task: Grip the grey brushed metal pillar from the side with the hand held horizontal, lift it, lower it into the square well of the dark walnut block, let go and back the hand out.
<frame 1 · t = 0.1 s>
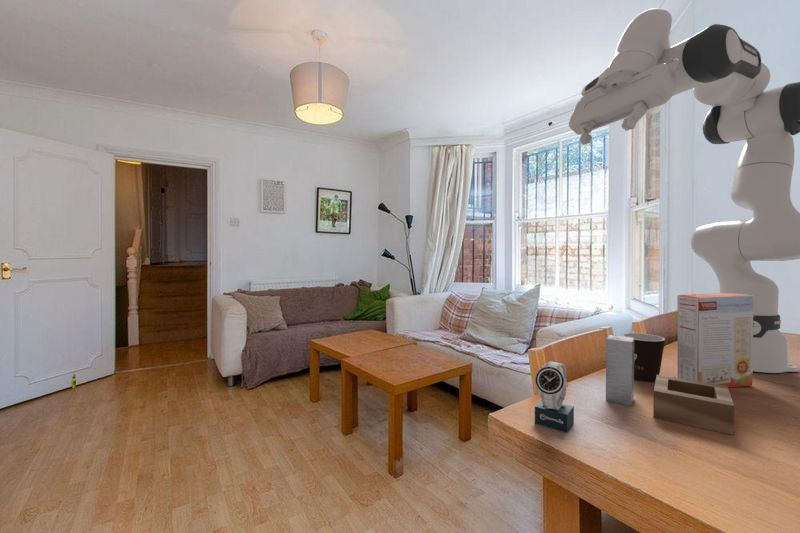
hand: (604, 135, 72), 54 cm above the table, tool tilted 30°, fingers open, 8 cm apart
coffee mug: (639, 376, 89), on the table
cracker box: (713, 384, 83), on the table
watch: (554, 424, 65), on the table
grey brushed metal pillar: (619, 399, 75), on the table
well block: (690, 414, 68), on the table
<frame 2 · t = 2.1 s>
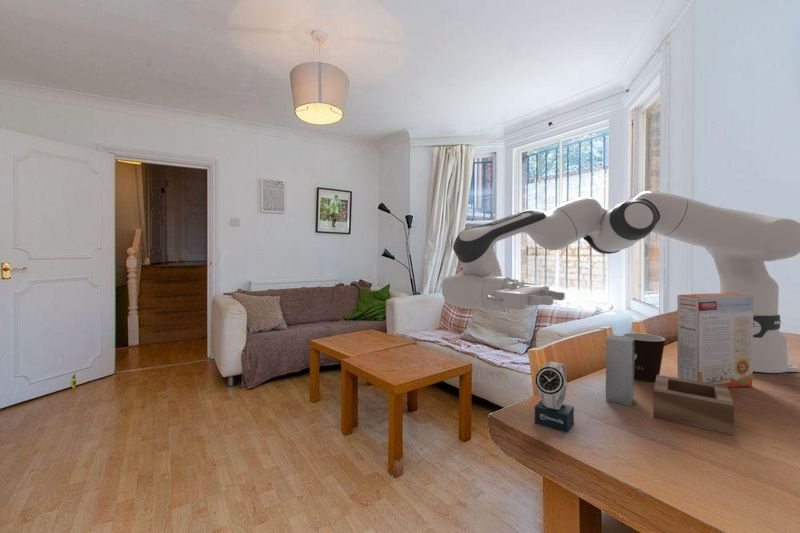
hand: (558, 298, 81), 20 cm above the table, tool horizontal, fingers open, 8 cm apart
nothing on the table moved.
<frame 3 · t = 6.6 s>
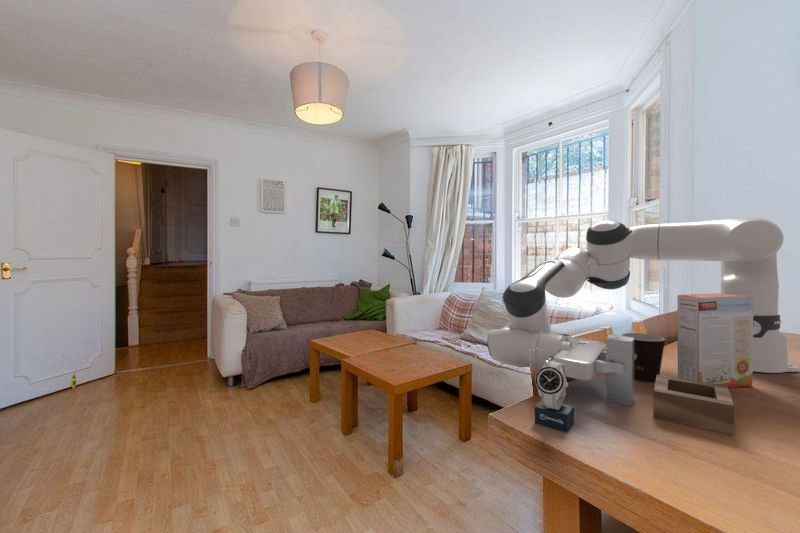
hand: (625, 364, 74), 8 cm above the table, tool horizontal, fingers closed on grey brushed metal pillar, 4 cm apart
grey brushed metal pillar: (619, 399, 75), on the table, touching gripper
everything else where it was.
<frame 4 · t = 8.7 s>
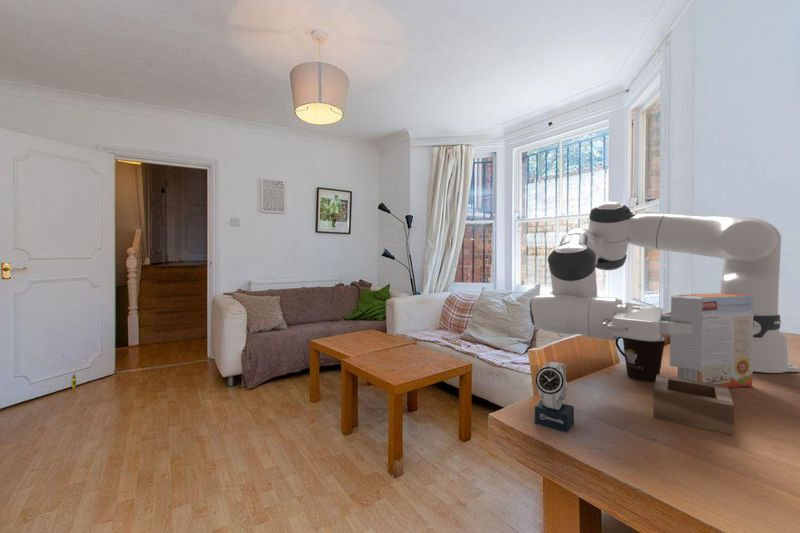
hand: (692, 326, 67), 17 cm above the table, tool horizontal, fingers closed on grey brushed metal pillar, 4 cm apart
grey brushed metal pillar: (684, 365, 68), point 9 cm above the table, touching gripper
everything else where it was.
when the fingers open (9 cm above the table, at t = 10.7 s): grey brushed metal pillar drops 1 cm, resting on well block.
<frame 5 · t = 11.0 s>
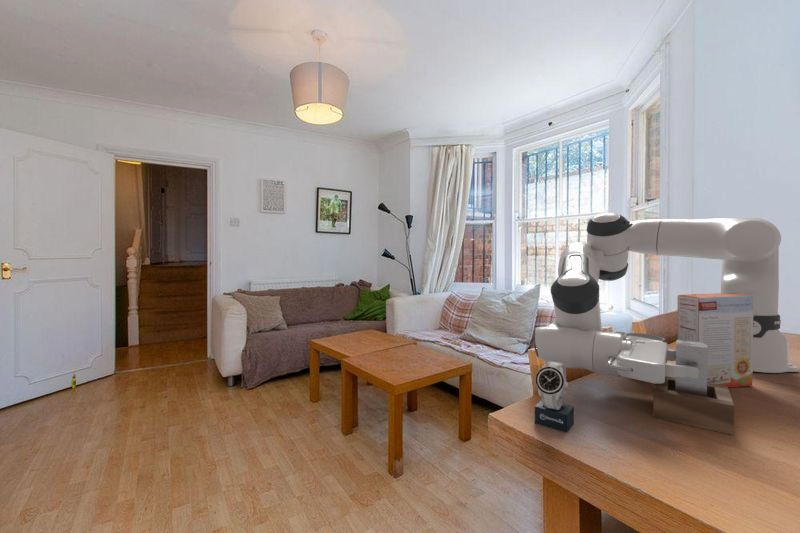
hand: (697, 365, 67), 9 cm above the table, tool horizontal, fingers open, 8 cm apart
grey brushed metal pillar: (690, 411, 68), resting on well block
everything else where it was.
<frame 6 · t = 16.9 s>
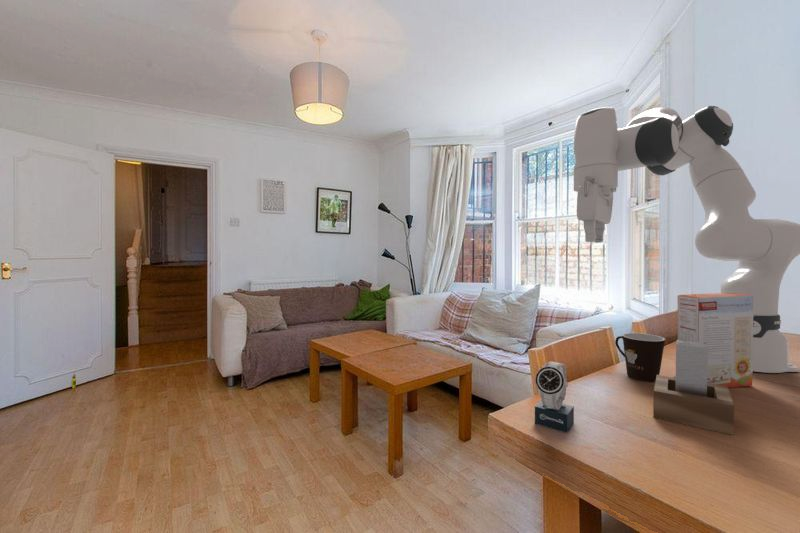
hand: (594, 242, 82), 33 cm above the table, tool pointing down, fingers open, 8 cm apart
nothing on the table moved.
at the end: grey brushed metal pillar 0.1 cm off-centre on the well block, point 0.5 cm above the well block's base; grey brushed metal pillar tilted 0°; the gripper is holding nothing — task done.
